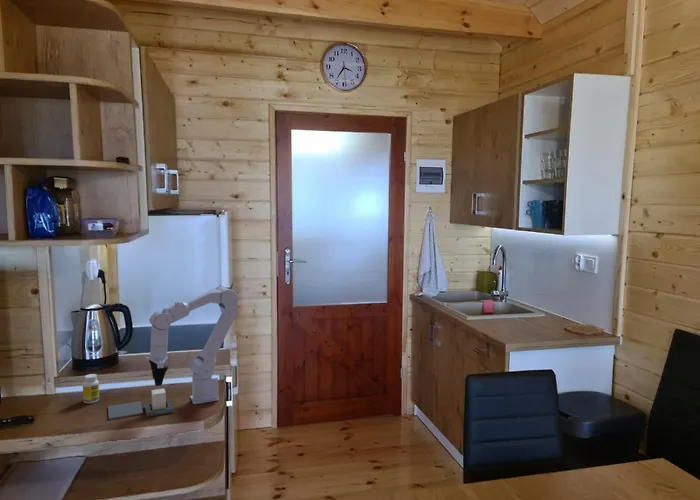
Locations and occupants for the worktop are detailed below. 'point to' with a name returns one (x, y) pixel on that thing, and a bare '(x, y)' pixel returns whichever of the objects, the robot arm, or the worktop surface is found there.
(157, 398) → the square peg block
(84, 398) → the supplement bottle
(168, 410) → the square socket
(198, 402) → the robot arm
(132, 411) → the rubber mat
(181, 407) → the worktop surface
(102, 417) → the worktop surface
